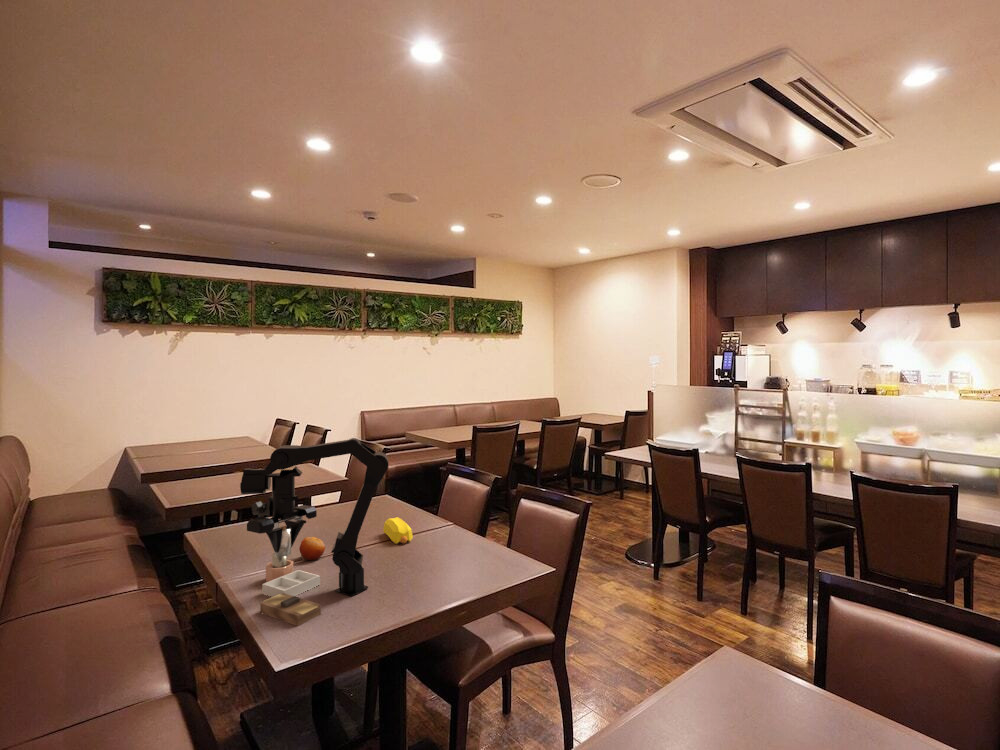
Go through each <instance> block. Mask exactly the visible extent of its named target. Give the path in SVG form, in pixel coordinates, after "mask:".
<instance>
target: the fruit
mask: <svg viewBox="0 0 1000 750" xmlns="http://www.w3.org/2000/svg"><path fill="white" fill-rule="evenodd" d="M325 550H326V546H325V543H324V542H323V540H321V539H320V538H318V537H315V536H310V537H309V536H306V537H304V539H303V540H302V541H301V542H300V546H299V552H300V556H301V561H302V562H303V561H305V560H309V561H317V559H318V560H319V559H320V558H321V557H322V556H323V554H324V552H325Z"/></svg>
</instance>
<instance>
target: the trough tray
mask: <svg viewBox="0 0 1000 750" xmlns="http://www.w3.org/2000/svg"><path fill="white" fill-rule="evenodd" d="M318 585H320V586H321V576H320V575H318V574H316V573H311V572H307V571H305V570H300V569H297V570H295V571H294V572H292V573H289V574H287V575H284V576H282V577H279V578H277V579H274V580H272V581H269V582H267V581H266V582H264V583H262V595H263V594H265V595H264V596H267V595H268V596H267V597H270V596H271V597H270V598H272V597H274V596H276V595H279V594H283V593H285V594H289V595H292V596H296V595H297V596H299V595H298V594H300V595H302V594H304V593H306V592H308V591H307V590H309V591H310V589H311V590H313V589H315V588H317V587H316V586H318ZM314 587H315V588H314ZM318 587H319V586H318ZM312 588H313V589H312ZM305 591H306V592H305ZM303 592H304V593H303ZM301 593H302V594H301ZM297 596H296V597H297Z"/></svg>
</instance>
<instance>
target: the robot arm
mask: <svg viewBox="0 0 1000 750" xmlns="http://www.w3.org/2000/svg"><path fill="white" fill-rule="evenodd" d="M344 455H352V456H353V457H354V458H356V460H358V461H359V462H360V463H361V464H363V465H364V466H366V469H365V470H366V471H365V475H364V481H363V484H362V487H361V489H360V492H359V495H358V497H357V500H356V503H355V506H354V508H353V510H352V514H351V516H350V518H349V521H348V524H347V527H346V528H345V530H344V532H343V533H342V532H340V531H338V532H337V536H336V538H335V542H334V543H333V545H332V548H331V551H330V553H331V554H332V557H331V559H332V561H333V564H334V565H335V566H337V567H338V569H339V572H338V588H336V589H335V593H338V594H342V595H345V596H349V597H353V596H356V595H358V594H360V593H361V592H364V591H365V590H367V589H369V586H367V585H365V567H363V566H362V565H363V559H364V555H363V553H361V552H360V551H359V550H358V549H356V548H357V545H358V544H357V543H358V538H359V534H360V531H361V529H362V526H363V523H364V521H365V518H366V516H367V513H368V511H369V509H370V508H369V507H370V505H371V502H372V499H373V496H374V494H375V492H376V489H377V487H378V486H379V484H381V483H380V482H381V481H382V480H383V478H384V476H385V474H386V473H387V472H388V469H389V458H388V455H387V454H386V453H385V452H382V451H376V450H374V449H373V448H371V447H369V446H368V445H367V444H365V443H363V442H362V441H360V440H359V439H358V438H355V437H352V438H349V439H345V440H338V441H332V442H331V441H330V442H326V443H325V442H324V443H320V444H319V443H318V444H314V445H313V444H312V445H297V444H296V445H293V444H292V445H284V444H283V445H281V446H279V447H277V448H276V449H275V450H273V452H271V454H270V461H269V463H267V465H266V466H265V467H264V468H249V467H248V468H247V467H246V468H244V469H243V470H242V477H241V481H240V484H239V487H240V494H241V495H263V494H266V493H267V491H268V490H270V489H271V496H269V497H268V499H267V502H265V503H263V502H262V501H256V502H254V503H252V504H251V514H252V515H253V516H257V515H258V517H255V518H251V519H249V520H248V521H247V523H246V531H247V532H251V533H256V534H259V535H260V534H261V535H262V534H266V535H267V537H268V538H269V542H270V544H271V545H272V548H273V551H274V553H275V552H276V553H278V552H279V549H280V543H281V537H282V530H283V529H282V528H279V527H280V524H281V523H284V524H285V526H286V527H291V549H292V548H293V546H294V544H295V543H296V541H297V537H298V536H299V534H300V532H301V530H302V528H303V527H304V525H305V524H307V520H304V517H305V518H307V519H308V520H310V519H314V518H317V514H318V513H317V512H318V511H317V509H316V507H315V506H312V505H306V504H302V505H298V506H295V504H296V502H295V501H297V500H299V496H298V495H295V494H296V492H295V491H296V490H295V489H296V488H295V487H296V486H295V485H296V484H295V483H296V481H295V480H296V477H301V476H302V475H303V471H302V470H301V469H299V468H298V466H297V465H300V464H303V463H305V462H308V461H315V460H319V459H325V458H326V459H327V458H332V457H338V456H339V457H340V456H344ZM292 467H293V469H289V468H292ZM278 470H279V471H280V472H276V471H278ZM275 472H276V473H275ZM264 516H266V517H264Z"/></svg>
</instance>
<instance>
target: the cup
mask: <svg viewBox="0 0 1000 750" xmlns="http://www.w3.org/2000/svg"><path fill="white" fill-rule="evenodd" d="M294 568H295V567H294V560H290V559H287V566H285V567H282V568H272V561H270V562H268V563H267V564H266V566H265V581H266V583H267V582H269V581H272V580H274V579H277V578H279V577H282V576H284V575H287V574H289V573H292V572H294Z"/></svg>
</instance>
